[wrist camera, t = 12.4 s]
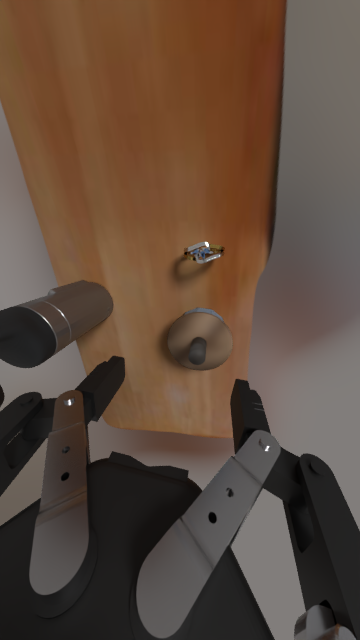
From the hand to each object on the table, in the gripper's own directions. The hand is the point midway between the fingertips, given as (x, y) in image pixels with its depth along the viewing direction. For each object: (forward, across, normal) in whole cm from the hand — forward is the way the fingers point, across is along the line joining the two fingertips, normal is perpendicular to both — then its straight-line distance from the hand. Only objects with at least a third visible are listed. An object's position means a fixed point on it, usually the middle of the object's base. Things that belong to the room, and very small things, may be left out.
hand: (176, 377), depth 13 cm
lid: (+23, -1, +10) cm, 25 cm away
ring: (+28, 0, -7) cm, 29 cm away
